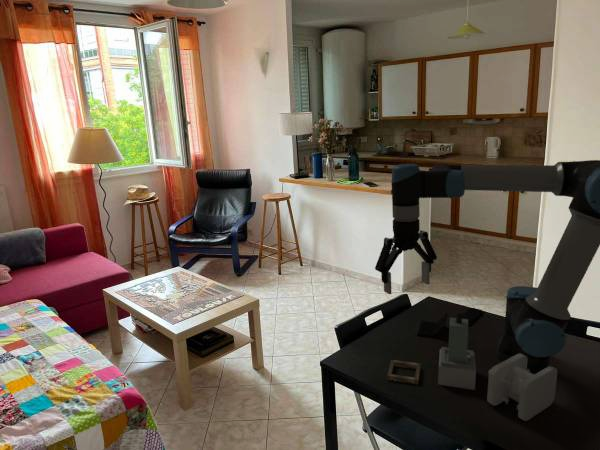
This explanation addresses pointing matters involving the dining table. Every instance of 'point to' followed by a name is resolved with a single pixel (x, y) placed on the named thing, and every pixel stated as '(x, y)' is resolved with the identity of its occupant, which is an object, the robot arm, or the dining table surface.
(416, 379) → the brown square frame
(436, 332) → the handheld gaming console
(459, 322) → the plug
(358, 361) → the dining table surface
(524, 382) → the cable organizer
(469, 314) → the remote control
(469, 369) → the grey square recessed block
